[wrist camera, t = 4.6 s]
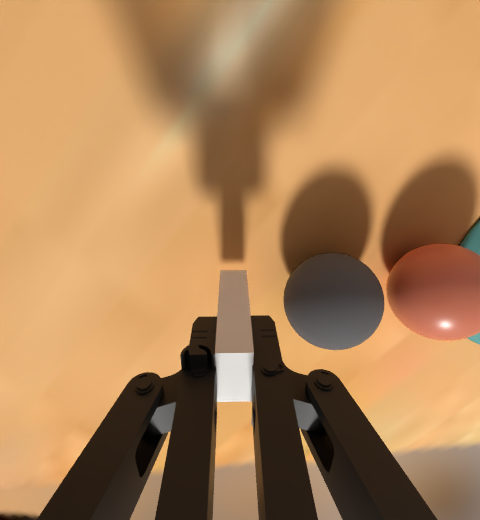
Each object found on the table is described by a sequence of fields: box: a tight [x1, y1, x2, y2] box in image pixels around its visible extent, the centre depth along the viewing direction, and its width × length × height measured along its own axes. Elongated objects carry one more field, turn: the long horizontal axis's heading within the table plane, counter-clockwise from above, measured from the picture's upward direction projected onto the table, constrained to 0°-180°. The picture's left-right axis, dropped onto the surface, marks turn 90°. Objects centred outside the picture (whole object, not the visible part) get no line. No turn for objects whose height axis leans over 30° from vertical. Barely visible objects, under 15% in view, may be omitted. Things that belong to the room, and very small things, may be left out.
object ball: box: [386, 243, 480, 341], centre depth 18 cm, size 6×6×6 cm
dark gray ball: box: [284, 253, 384, 350], centre depth 18 cm, size 6×6×6 cm
